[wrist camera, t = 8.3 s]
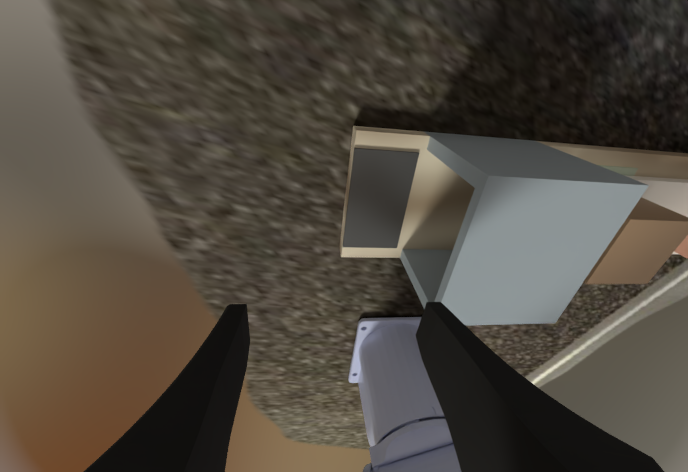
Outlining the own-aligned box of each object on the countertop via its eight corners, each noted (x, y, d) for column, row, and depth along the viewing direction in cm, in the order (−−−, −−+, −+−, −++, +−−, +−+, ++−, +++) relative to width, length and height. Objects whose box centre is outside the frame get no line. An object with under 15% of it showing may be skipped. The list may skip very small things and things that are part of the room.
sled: (684, 249, 25) (766, 291, 21) (505, 245, 23) (554, 293, 18) (740, 182, 22) (851, 216, 18) (540, 169, 19) (610, 205, 15)
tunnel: (487, 250, 25) (555, 323, 18) (395, 248, 23) (432, 326, 17) (535, 140, 20) (649, 185, 13) (423, 131, 19) (488, 175, 12)
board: (632, 252, 27) (648, 262, 26) (339, 247, 23) (341, 258, 22) (706, 154, 22) (728, 160, 21) (353, 125, 18) (356, 131, 17)
